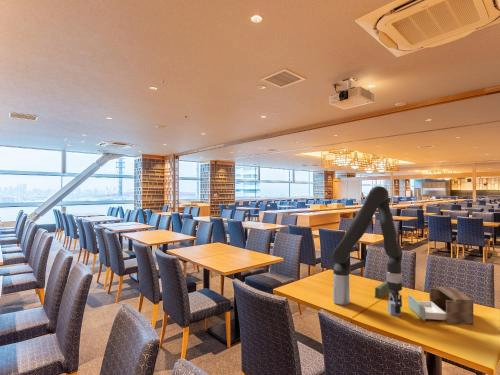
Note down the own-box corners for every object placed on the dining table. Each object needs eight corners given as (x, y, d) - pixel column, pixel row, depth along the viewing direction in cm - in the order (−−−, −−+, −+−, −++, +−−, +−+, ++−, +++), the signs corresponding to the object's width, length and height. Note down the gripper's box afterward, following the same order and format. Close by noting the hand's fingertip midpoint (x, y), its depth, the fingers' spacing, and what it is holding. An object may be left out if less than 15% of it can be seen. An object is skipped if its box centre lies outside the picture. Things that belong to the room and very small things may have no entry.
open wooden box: (447, 323, 145) (447, 298, 145) (429, 308, 164) (429, 286, 164) (473, 325, 144) (473, 300, 144) (452, 309, 162) (452, 287, 162)
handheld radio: (373, 297, 181) (388, 287, 199) (379, 299, 179) (393, 288, 197) (374, 287, 181) (388, 278, 199) (379, 288, 179) (393, 279, 197)
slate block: (390, 315, 156) (390, 304, 156) (387, 311, 161) (387, 300, 161) (400, 315, 155) (400, 304, 155) (397, 311, 160) (397, 300, 160)
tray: (423, 320, 147) (423, 307, 147) (408, 305, 166) (408, 294, 166) (448, 322, 145) (448, 309, 145) (430, 306, 164) (430, 295, 164)
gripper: (383, 276, 166) (383, 304, 166) (391, 284, 152) (392, 315, 151) (396, 276, 165) (397, 305, 164) (406, 284, 150) (407, 316, 150)
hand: (394, 310), depth 158 cm, fingers open, 8 cm apart
